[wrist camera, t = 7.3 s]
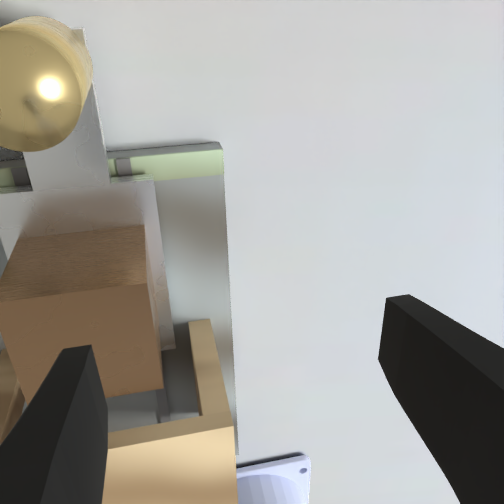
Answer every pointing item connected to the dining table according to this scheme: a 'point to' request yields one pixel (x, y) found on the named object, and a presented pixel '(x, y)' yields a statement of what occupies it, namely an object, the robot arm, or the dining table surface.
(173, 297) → the track
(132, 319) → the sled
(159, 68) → the dining table surface
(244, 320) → the dining table surface
